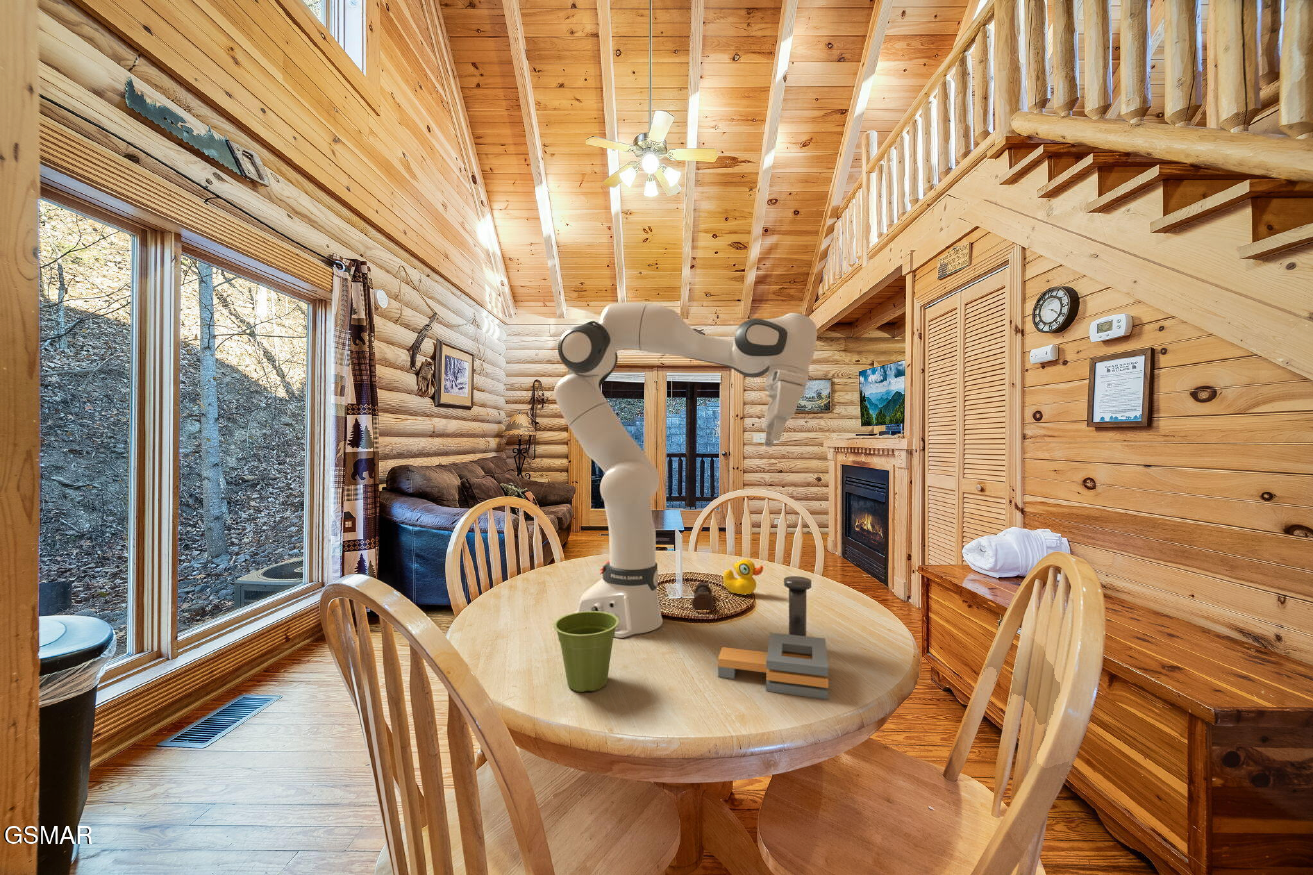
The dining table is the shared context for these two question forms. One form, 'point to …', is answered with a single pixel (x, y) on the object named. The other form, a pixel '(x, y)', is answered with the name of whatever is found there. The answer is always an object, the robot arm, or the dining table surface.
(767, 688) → the bracket
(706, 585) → the bolt
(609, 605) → the robot arm
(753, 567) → the duckling
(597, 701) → the dining table surface
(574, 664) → the plant pot
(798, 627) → the pin
